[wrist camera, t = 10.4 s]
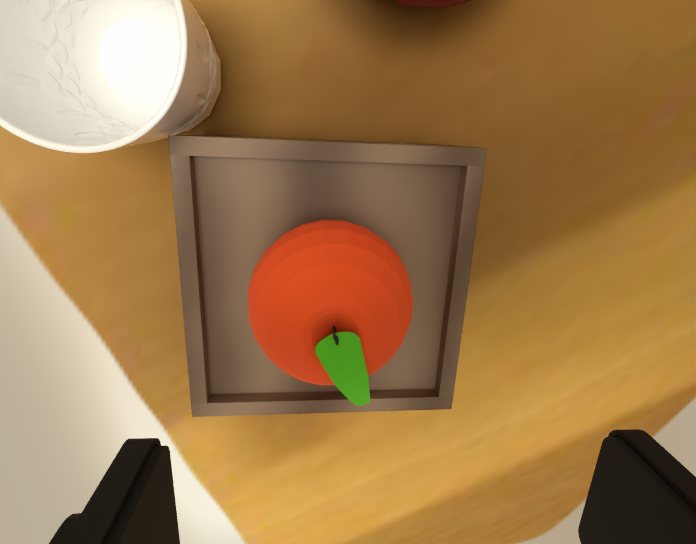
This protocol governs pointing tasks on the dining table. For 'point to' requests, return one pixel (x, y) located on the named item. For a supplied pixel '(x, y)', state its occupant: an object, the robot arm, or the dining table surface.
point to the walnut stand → (309, 206)
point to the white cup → (104, 72)
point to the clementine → (330, 305)
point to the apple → (431, 3)
